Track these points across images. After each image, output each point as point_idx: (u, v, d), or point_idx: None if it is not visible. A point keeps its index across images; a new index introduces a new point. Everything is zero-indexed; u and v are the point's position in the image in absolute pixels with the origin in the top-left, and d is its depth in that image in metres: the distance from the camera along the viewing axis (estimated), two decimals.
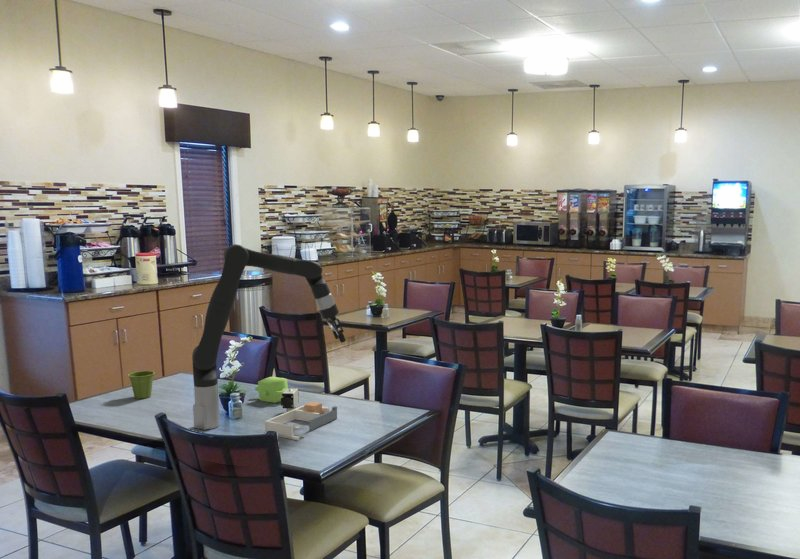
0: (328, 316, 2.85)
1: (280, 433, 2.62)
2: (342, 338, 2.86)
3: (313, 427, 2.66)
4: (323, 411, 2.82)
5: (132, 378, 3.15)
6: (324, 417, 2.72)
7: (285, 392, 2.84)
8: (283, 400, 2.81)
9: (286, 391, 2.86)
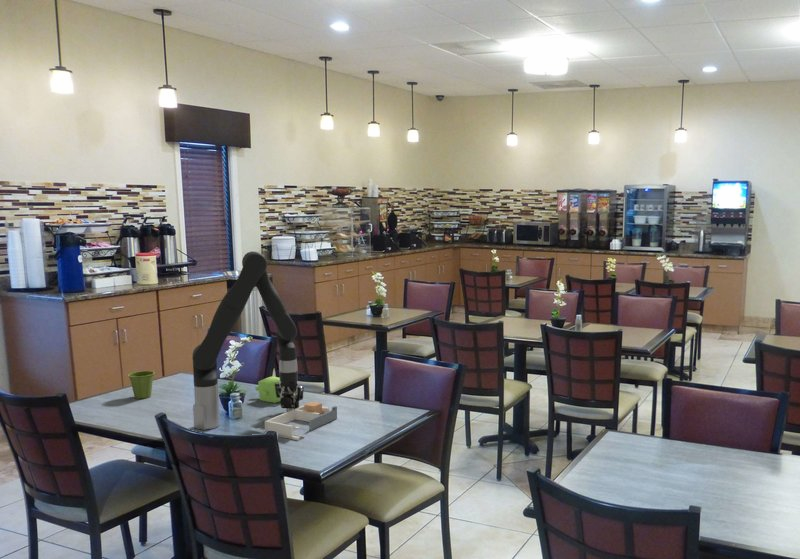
0: (292, 380, 2.83)
1: (280, 433, 2.62)
2: (297, 406, 2.85)
3: (313, 427, 2.66)
4: (323, 411, 2.82)
5: (132, 378, 3.15)
6: (324, 417, 2.72)
7: (285, 392, 2.84)
8: (283, 400, 2.81)
9: (286, 391, 2.86)
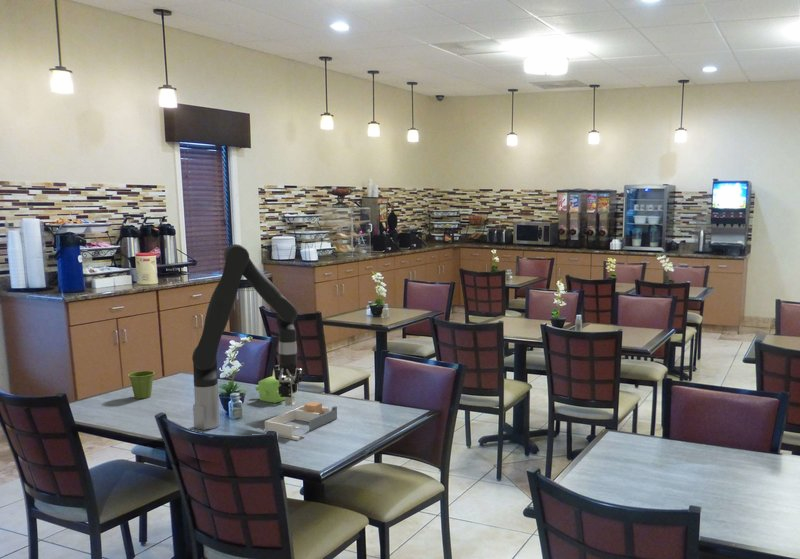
0: (291, 362, 2.82)
1: (280, 433, 2.62)
2: (296, 388, 2.84)
3: (313, 427, 2.66)
4: (323, 411, 2.82)
5: (132, 378, 3.15)
6: (324, 417, 2.72)
7: (283, 381, 2.84)
8: (280, 389, 2.81)
9: (284, 380, 2.86)
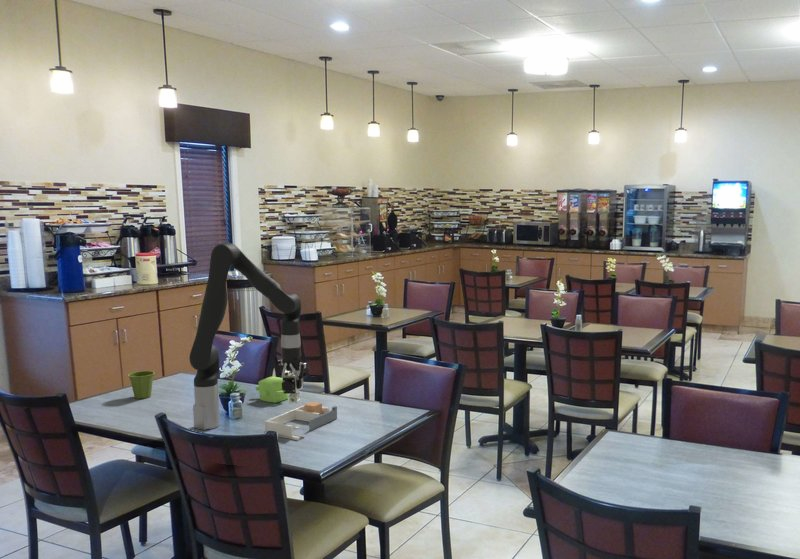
0: (295, 356, 2.64)
1: (280, 433, 2.62)
2: (300, 384, 2.66)
3: (313, 427, 2.66)
4: (323, 411, 2.82)
5: (132, 378, 3.15)
6: (324, 417, 2.72)
7: (286, 376, 2.66)
8: (284, 385, 2.63)
9: (288, 375, 2.67)
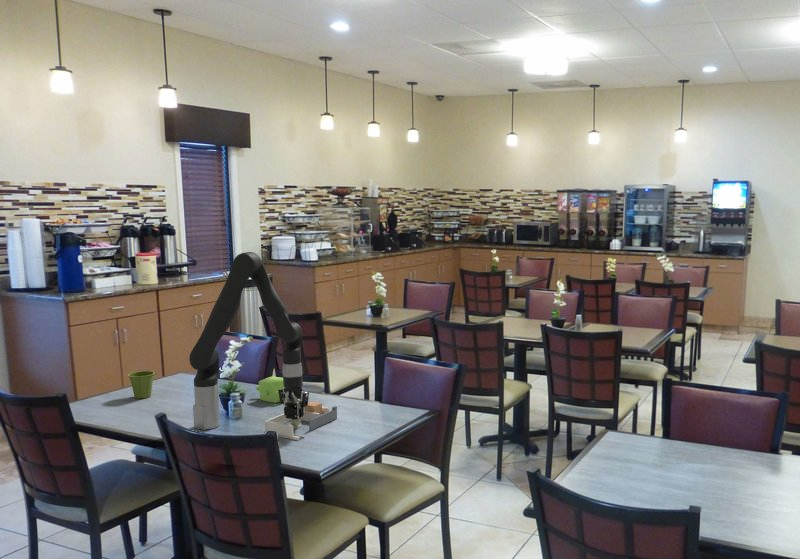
0: (296, 385, 2.65)
1: (280, 433, 2.62)
2: (302, 413, 2.67)
3: (313, 427, 2.66)
4: (323, 411, 2.82)
5: (132, 378, 3.15)
6: (324, 417, 2.72)
7: (289, 401, 2.67)
8: (286, 410, 2.64)
9: (290, 400, 2.68)
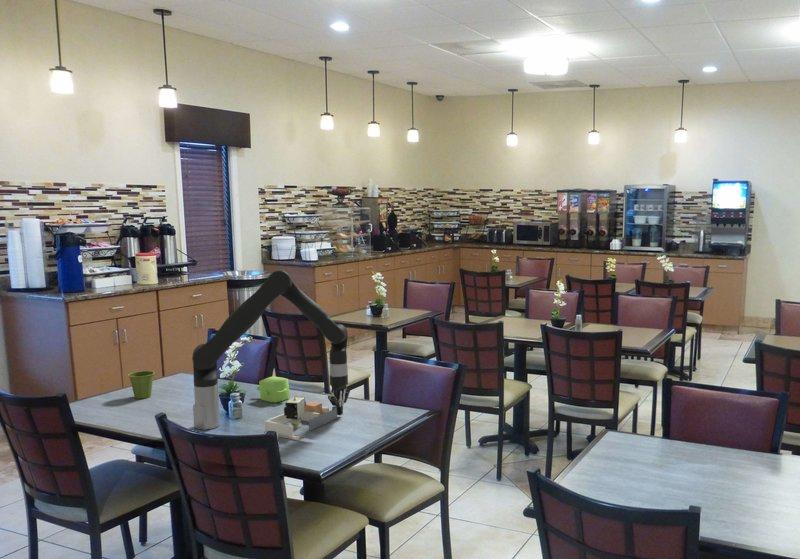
0: (330, 384, 2.78)
1: (280, 433, 2.62)
2: (337, 411, 2.81)
3: (313, 427, 2.66)
4: (323, 411, 2.82)
5: (132, 378, 3.15)
6: (324, 417, 2.72)
7: (289, 401, 2.67)
8: (286, 410, 2.64)
9: (291, 400, 2.68)
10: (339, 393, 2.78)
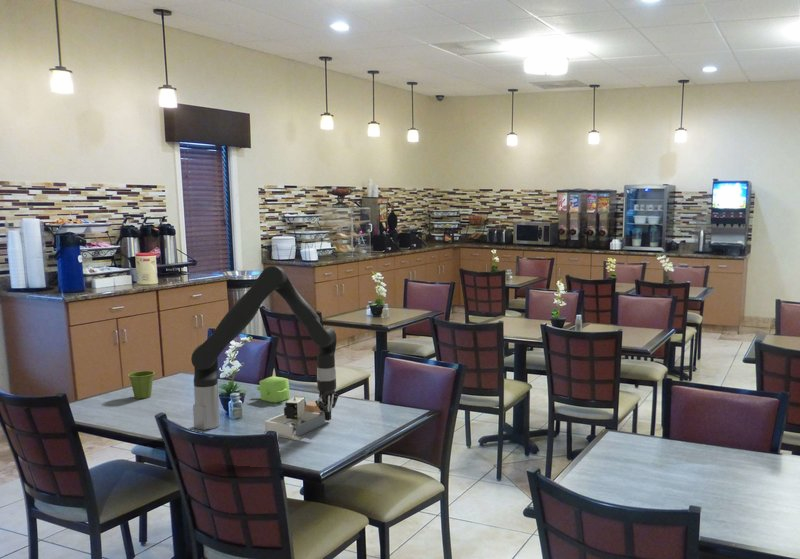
0: (318, 388, 2.72)
1: (280, 433, 2.62)
2: (325, 416, 2.74)
3: (300, 433, 2.59)
4: (323, 411, 2.82)
5: (132, 378, 3.15)
6: (311, 423, 2.65)
7: (289, 401, 2.67)
8: (286, 410, 2.64)
9: (291, 400, 2.68)
10: (327, 398, 2.72)
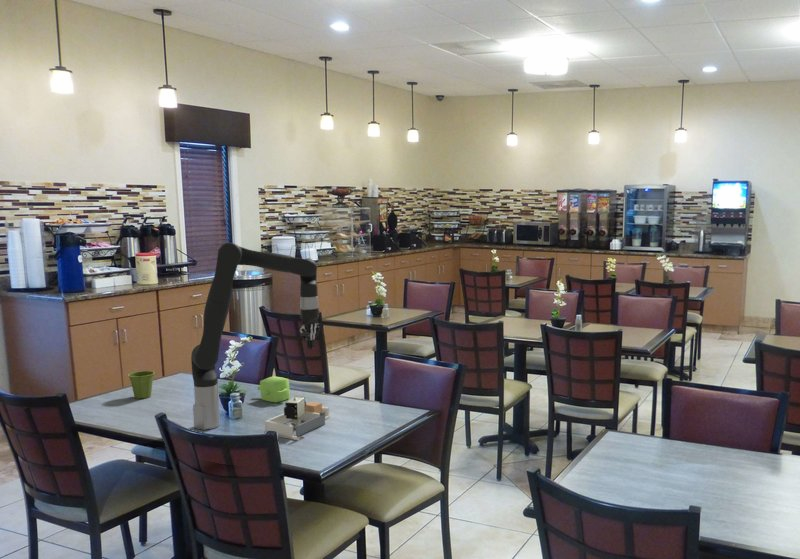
0: (301, 317, 2.80)
1: (280, 433, 2.62)
2: (308, 345, 2.82)
3: (300, 433, 2.59)
4: (323, 411, 2.82)
5: (132, 378, 3.15)
6: (311, 423, 2.65)
7: (289, 401, 2.67)
8: (286, 410, 2.64)
9: (291, 400, 2.68)
10: (310, 326, 2.80)
